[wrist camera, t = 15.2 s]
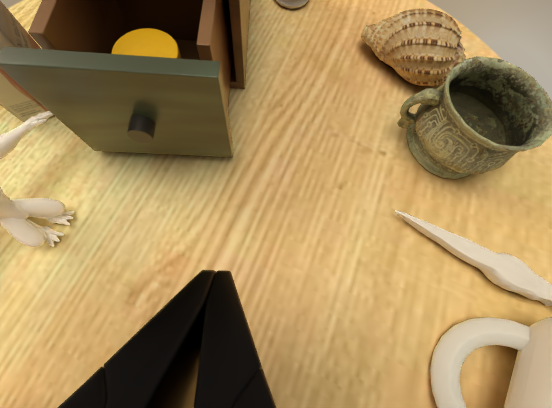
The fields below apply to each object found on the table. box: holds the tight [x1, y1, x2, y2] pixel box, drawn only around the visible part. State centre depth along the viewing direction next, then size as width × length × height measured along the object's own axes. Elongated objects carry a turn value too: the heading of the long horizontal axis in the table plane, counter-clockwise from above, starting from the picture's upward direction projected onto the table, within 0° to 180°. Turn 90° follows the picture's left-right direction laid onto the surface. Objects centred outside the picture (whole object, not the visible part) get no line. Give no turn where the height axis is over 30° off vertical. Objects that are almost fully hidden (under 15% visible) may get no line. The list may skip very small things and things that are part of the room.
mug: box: [430, 317, 552, 408], centre depth 16 cm, size 12×9×12 cm
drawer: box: [0, 0, 233, 157], centre depth 20 cm, size 14×11×9 cm
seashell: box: [361, 9, 466, 86], centre depth 27 cm, size 8×6×10 cm
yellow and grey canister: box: [112, 28, 182, 59], centre depth 20 cm, size 4×4×5 cm
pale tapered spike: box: [395, 210, 552, 306], centre depth 21 cm, size 15×3×2 cm, turn 59°
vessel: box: [398, 57, 552, 179], centre depth 23 cm, size 12×9×6 cm
